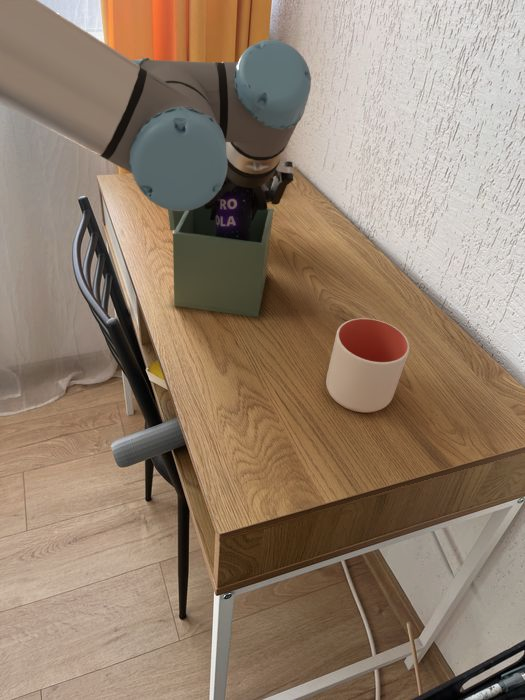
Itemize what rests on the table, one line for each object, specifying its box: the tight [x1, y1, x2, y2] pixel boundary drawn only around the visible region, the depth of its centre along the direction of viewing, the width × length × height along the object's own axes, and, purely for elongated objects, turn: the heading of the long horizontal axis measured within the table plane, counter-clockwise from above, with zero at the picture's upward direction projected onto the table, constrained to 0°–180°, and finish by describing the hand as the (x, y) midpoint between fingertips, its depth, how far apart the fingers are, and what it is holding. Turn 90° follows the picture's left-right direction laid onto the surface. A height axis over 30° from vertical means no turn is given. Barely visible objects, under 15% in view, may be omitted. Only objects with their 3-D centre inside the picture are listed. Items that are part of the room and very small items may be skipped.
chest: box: [172, 205, 274, 318], centre depth 91 cm, size 15×14×14 cm
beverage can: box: [215, 186, 254, 241], centre depth 83 cm, size 6×6×12 cm
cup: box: [325, 317, 410, 413], centre depth 75 cm, size 10×10×10 cm
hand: (231, 212), depth 87 cm, fingers closed on beverage can, 6 cm apart
